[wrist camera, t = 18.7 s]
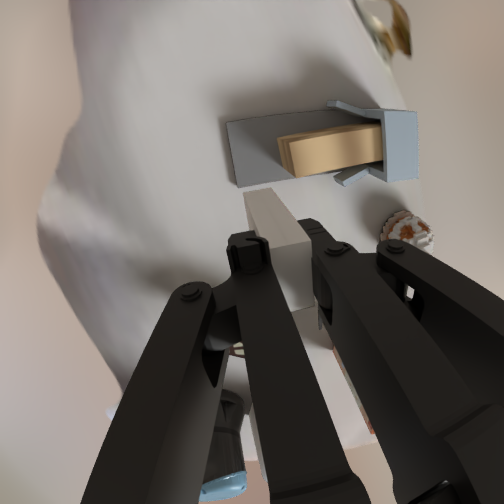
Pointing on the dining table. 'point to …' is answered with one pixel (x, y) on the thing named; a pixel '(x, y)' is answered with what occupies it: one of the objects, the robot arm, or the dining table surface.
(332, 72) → the dining table surface
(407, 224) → the decorative ornament
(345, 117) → the board
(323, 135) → the oak slat
